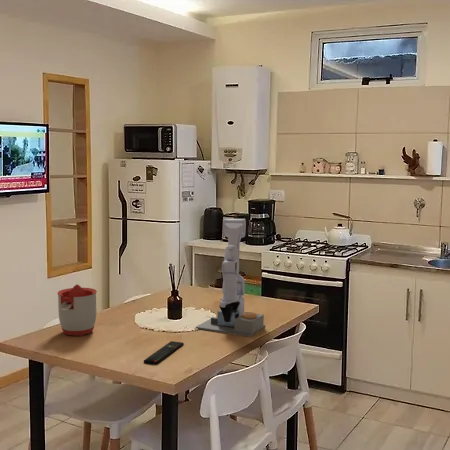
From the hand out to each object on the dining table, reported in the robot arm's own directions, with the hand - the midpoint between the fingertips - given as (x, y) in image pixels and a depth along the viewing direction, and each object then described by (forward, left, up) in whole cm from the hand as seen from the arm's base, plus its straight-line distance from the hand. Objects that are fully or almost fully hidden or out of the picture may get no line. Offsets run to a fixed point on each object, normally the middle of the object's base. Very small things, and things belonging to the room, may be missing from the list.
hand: (229, 320), depth 263 cm
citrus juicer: (+35, -53, -3) cm, 63 cm away
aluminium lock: (0, 0, -2) cm, 2 cm away
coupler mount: (0, 0, -3) cm, 3 cm away
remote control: (+41, -7, -4) cm, 42 cm away
